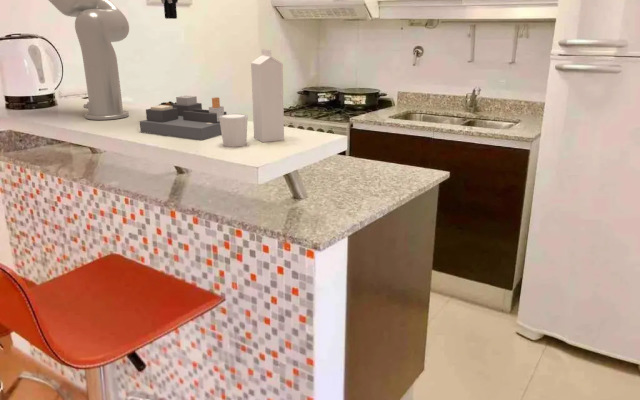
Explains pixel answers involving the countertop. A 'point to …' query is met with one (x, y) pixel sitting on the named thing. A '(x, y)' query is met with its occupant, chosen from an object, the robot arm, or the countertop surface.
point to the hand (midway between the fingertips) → (171, 18)
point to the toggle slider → (216, 108)
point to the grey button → (186, 100)
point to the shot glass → (234, 129)
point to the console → (182, 122)
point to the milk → (267, 98)
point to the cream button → (161, 107)
